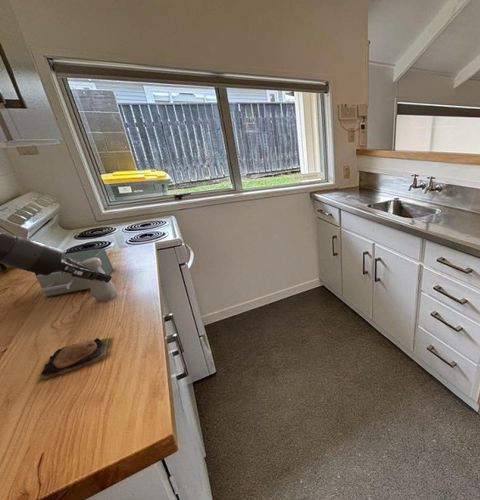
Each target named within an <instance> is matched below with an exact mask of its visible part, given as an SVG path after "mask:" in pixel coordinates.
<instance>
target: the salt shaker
mask: <svg viewBox="0 0 480 500" xmlns="http://www.w3.org/2000/svg"><path fill="white" fill-rule="evenodd" d="M82 265H85V266H88V267H89V269H91V270H96V271H98V272H100V273H104V274H105V272H104V271H103V269H102V268H101V265H102V263H101V260H100V259H99V258H90V259H87V260H84V261H83V262H82ZM90 275H91V273H89V275H88V276H90ZM89 284H90V293H91V297H92V298H93V299H95V300H96V301H98V302H106V301H109V300H112V299H113V298H114V297H116V293H117V288H116V286H115V284H114V283H113V282H112V281H111V280H110V281H109V282H108V283H106V282H105V281H99V280H95V279H94V280H89Z"/></svg>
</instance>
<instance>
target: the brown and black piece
mask: <svg viewBox="0 0 480 500" xmlns="http://www.w3.org/2000/svg"><path fill="white" fill-rule="evenodd" d="M108 345H109V338H102V339H100V338H99V337H96V338H94V340H93V339H90V340H89V339H88V340H83V341H78V342H75V343H72V344H70V345H66V346H63V347H61V348H58V349H57V350H55V351H54V352H53V354H52V355H51V356H49V360H48V362H47V363H46V364H44V368H43V370H42V371H41V372H40V375H41V380H42V381H43V380H47V379H50V378H54V377H56V376H57V377H58V376H59V375H63V374H65V373H68V372H69V371H73V370H78V369H80V368H83V367H84V366H88V365H90V364H92V363H94V362H97V361H101V360H104V359H105V358H106V356H107V355H106V354H107V350H108Z"/></svg>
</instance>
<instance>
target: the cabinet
mask: <svg viewBox="0 0 480 500" xmlns="http://www.w3.org/2000/svg"><path fill="white" fill-rule="evenodd" d="M63 258H69V259H72V260H74V261H76V262H80V263H82V262H83V261H84V260H87V259H90V258H99V259H100V260H101V263H102V265H101V268H102V269H103V271H104V272H105V273H107V275H110V274H111V273H112V272H113V271H114V268H113V265H112V263H111V260H110V258H109V255H108V253H107V251H106V248H105V247H102V248H95V249H88V250H83V251H75V252H74V251H73V252H68V253H64V256H63ZM63 258H62V259H63ZM58 271H59V270H58V269H57V270H54V271H53V272H58ZM34 275H35V277H36V276H37V275H41V274H37V273H34ZM85 291H91V289H90V288H89V289H83V290H78V291H72V292H66V293H61V294H55V295H50V296H46V297H47V298H50V297H56V296H62V295H68V294H72V293H73V294H74V293H78V292H85Z"/></svg>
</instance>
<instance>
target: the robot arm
mask: <svg viewBox="0 0 480 500" xmlns="http://www.w3.org/2000/svg"><path fill="white" fill-rule="evenodd" d="M64 254H65V252H64V250H63V249H61V248H58V247H55V246H52V245H49V244H46V243H43V242H39V241H36V240H34V239H31V238H26V237H22V236H18V235H16V234H15V235H14V234H12V233H9V232H5V231H2V230H0V264H2V265H4V266H7V267H10V268H13V269H18V270H21V271H26V272H30V273H33V274H35V273H37V274H41V275H50V274H51V273H53V271H54V270H57V269H58V270H59V271H60V272H61V273H62V274H65V275H71V276H73V277H78V278H83V279H88V280H94V279H95V280H99V281H105V282H106V283H108V282H109V281H111V280H112V278H113V276H111V275H110V274H109V275H107V273H105V274H104V273H100V272H98V271H96V270H91V269H89V267H88V266H85V265H82V263H80V262H76V261H74V260H72V259H69V258H63V256H64ZM62 258H63V259H62ZM89 273H91V275H90V276H88V275H89Z"/></svg>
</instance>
